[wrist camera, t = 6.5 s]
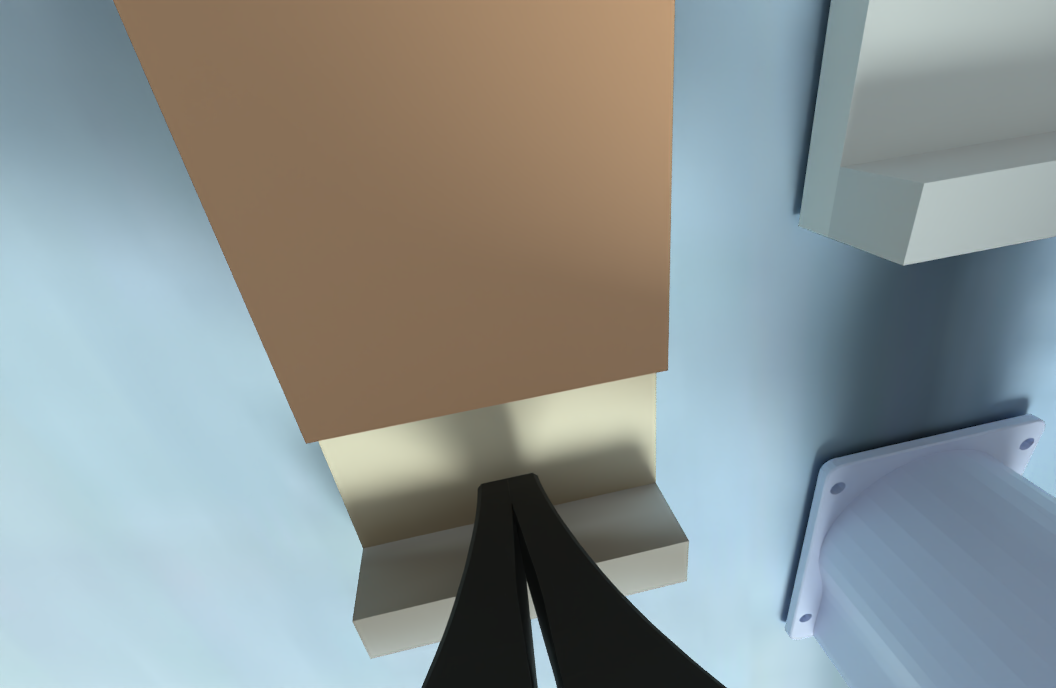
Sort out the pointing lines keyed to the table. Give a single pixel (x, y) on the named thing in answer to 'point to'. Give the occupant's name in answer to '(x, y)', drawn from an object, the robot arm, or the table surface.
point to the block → (429, 190)
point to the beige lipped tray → (502, 452)
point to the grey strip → (934, 127)
